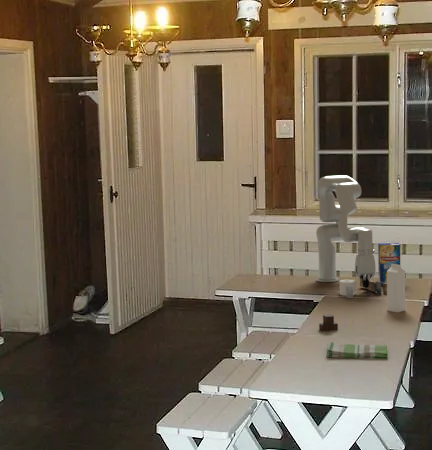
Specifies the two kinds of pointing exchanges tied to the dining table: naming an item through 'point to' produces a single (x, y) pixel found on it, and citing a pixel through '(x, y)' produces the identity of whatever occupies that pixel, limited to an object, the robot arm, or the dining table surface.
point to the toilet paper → (347, 283)
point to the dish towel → (356, 351)
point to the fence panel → (385, 288)
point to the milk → (395, 288)
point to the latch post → (349, 292)
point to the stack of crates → (328, 323)
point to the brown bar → (371, 285)
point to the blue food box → (387, 258)
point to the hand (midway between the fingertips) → (365, 287)
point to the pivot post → (378, 287)
